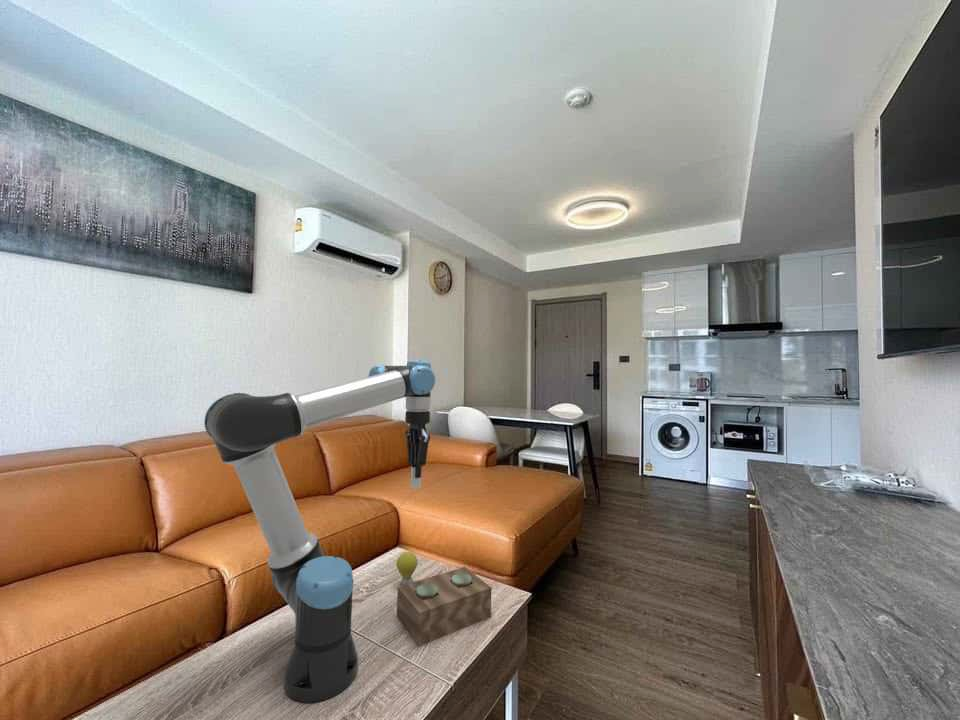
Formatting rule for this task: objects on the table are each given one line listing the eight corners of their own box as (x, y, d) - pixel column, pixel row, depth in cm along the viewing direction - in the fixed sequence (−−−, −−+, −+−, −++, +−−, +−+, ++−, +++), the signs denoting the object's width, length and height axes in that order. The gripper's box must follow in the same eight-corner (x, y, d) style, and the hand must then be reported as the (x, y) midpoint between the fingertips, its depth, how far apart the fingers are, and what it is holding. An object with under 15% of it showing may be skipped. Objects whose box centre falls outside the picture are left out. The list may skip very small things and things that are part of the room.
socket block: (418, 646, 96) (419, 612, 97) (396, 616, 108) (397, 587, 108) (490, 616, 109) (491, 587, 109) (464, 593, 120) (464, 566, 121)
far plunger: (457, 614, 108) (458, 585, 108) (447, 604, 112) (448, 576, 113) (474, 608, 111) (475, 579, 111) (464, 598, 115) (464, 571, 116)
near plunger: (421, 628, 101) (422, 596, 102) (412, 617, 106) (413, 587, 106) (440, 621, 105) (441, 590, 105) (430, 610, 109) (431, 581, 110)
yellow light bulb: (412, 591, 121) (413, 558, 121) (392, 588, 122) (393, 556, 122) (420, 580, 127) (420, 549, 128) (400, 578, 129) (401, 547, 129)
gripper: (438, 411, 117) (436, 491, 116) (419, 408, 128) (417, 481, 127) (415, 412, 113) (413, 495, 112) (398, 409, 124) (396, 484, 123)
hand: (415, 487), depth 120 cm, fingers closed
